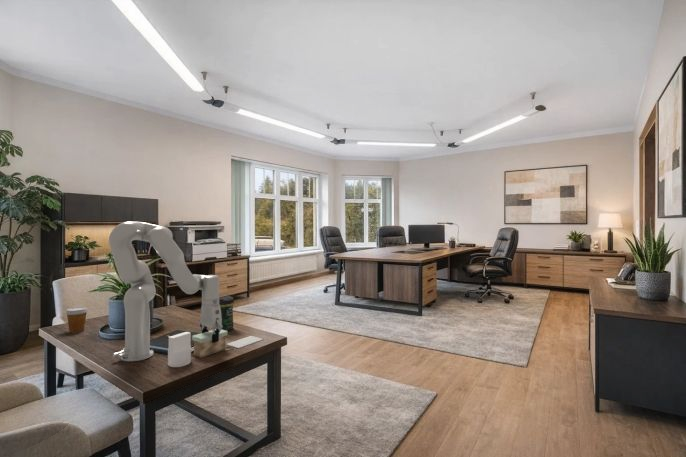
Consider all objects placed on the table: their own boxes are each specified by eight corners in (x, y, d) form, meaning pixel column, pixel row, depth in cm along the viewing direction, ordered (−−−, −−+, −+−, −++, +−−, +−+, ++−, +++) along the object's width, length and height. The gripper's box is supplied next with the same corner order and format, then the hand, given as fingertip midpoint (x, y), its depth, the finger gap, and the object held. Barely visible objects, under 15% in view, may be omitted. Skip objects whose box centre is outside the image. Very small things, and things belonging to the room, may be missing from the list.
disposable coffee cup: (70, 329, 195) (70, 307, 194) (90, 327, 198) (90, 306, 197) (62, 334, 186) (62, 311, 185) (83, 332, 188) (83, 310, 188)
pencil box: (200, 357, 158) (200, 342, 158) (194, 355, 161) (194, 339, 161) (225, 349, 169) (225, 334, 169) (218, 347, 171) (218, 332, 171)
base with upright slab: (176, 368, 146) (177, 339, 146) (163, 364, 150) (163, 335, 150) (195, 361, 154) (195, 333, 154) (181, 357, 158) (182, 330, 158)
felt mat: (238, 348, 170) (238, 347, 170) (226, 344, 175) (226, 343, 175) (263, 339, 183) (263, 339, 183) (251, 336, 188) (251, 335, 188)
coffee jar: (223, 333, 193) (223, 299, 193) (212, 330, 196) (213, 297, 196) (236, 328, 202) (236, 295, 201) (225, 326, 205) (226, 294, 205)
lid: (201, 343, 157) (201, 338, 157) (191, 339, 161) (191, 335, 161) (227, 334, 168) (227, 331, 168) (218, 332, 172) (218, 328, 172)
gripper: (229, 303, 163) (229, 342, 163) (206, 298, 172) (205, 334, 173) (215, 306, 156) (215, 346, 157) (192, 300, 166) (191, 338, 166)
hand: (210, 340), depth 165 cm, fingers closed on lid, 7 cm apart
